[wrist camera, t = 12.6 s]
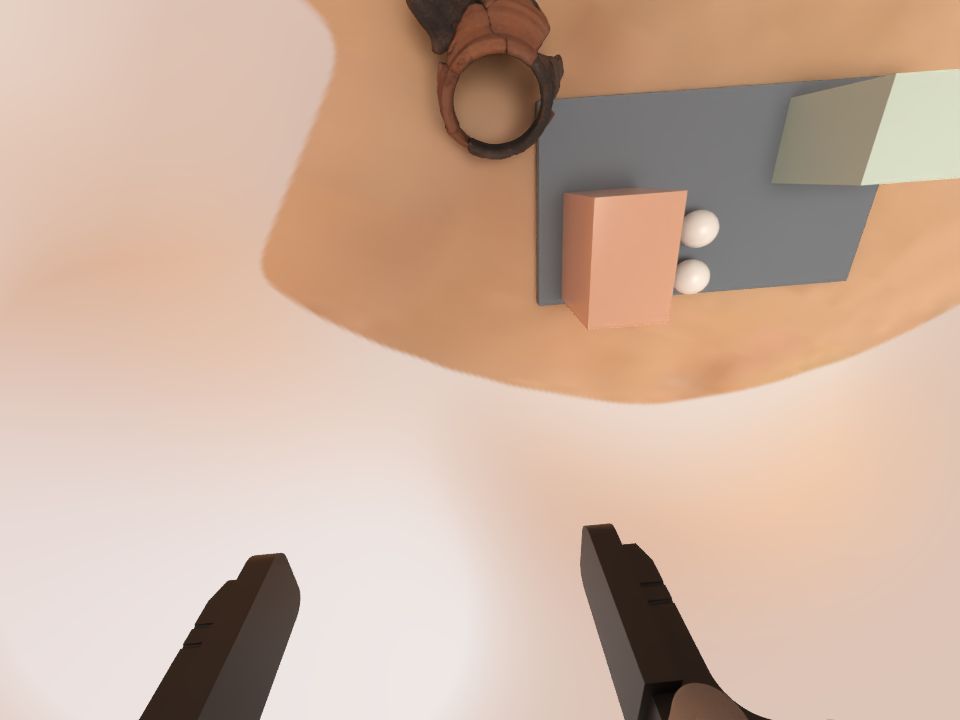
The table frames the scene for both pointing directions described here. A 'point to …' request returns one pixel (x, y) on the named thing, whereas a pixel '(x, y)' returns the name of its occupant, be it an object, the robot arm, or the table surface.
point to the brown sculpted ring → (483, 31)
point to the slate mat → (702, 181)
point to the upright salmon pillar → (621, 254)
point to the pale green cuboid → (874, 132)
